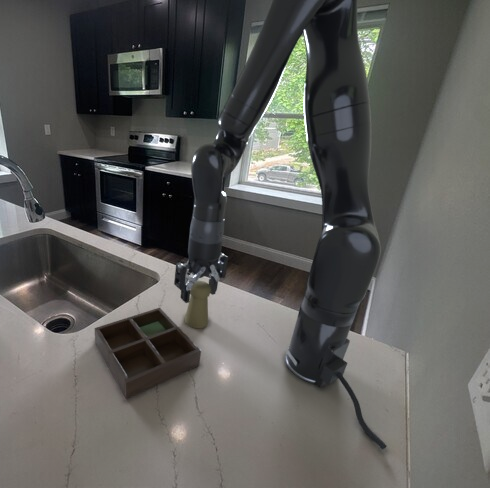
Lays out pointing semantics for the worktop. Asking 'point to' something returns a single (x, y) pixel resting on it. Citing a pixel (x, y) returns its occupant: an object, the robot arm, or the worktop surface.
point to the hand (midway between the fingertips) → (198, 296)
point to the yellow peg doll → (198, 305)
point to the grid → (145, 351)
